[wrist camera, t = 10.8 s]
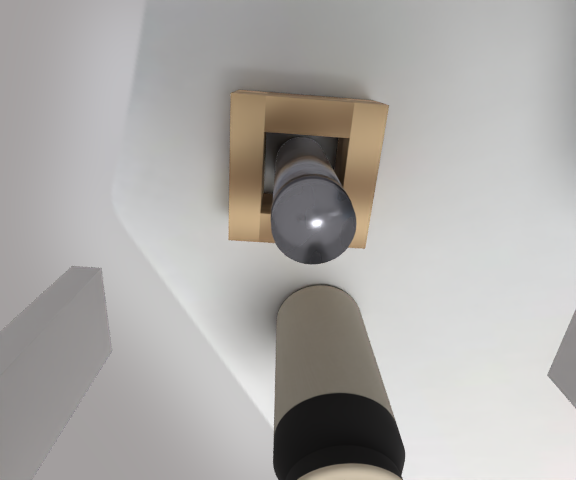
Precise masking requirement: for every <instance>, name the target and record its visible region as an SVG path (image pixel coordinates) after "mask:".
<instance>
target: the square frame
mask: <svg viewBox="0 0 576 480" xmlns="http://www.w3.org/2000/svg"><path fill="white" fill-rule="evenodd" d="M388 108H389V105H386V104H383V103H380V102H376V101H373V100H363V99H350V98H338V97H325V96H312V95H299V94H287V93H274V92H261V91H248V90H237V91H235V92H232V93H231V106H230V173H229V239H228V240H236V241H252V242H268V243H275V241H274V239H273V236H272V231H271V207H272V203H273V194H268V193H263V192H264V173H265V153H266V134H267V132H273V133H286V134H300V135H313V136H327V137H338V145H337V153H336V161H335V170H334V172H335V174H336V176H337V178H338V180H339V181H340V183H341V185H342V187H343V188H344V190H345V191H346V193H347V195H348V196H349V198H350V200H351V203H352V205H353V208H354V211H355V215H356V222H357V224H356V232H355V235H354V238H353V240H352V242H351V244H350V245H349V247H348V248H363V249H365V246H366V240H367V234H368V228H369V222H370V216H371V210H372V204H373V198H374V192H375V186H376V180H377V174H378V168H379V162H380V156H381V150H382V144H383V138H384V132H385V126H386V120H387V114H388Z"/></svg>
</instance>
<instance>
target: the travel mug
mask: <svg viewBox="0 0 576 480" xmlns="http://www.w3.org/2000/svg"><path fill="white" fill-rule="evenodd" d="M273 454H274V455H273V465H274V470H275V473H276V476H277V478H278V480H403V479H402V477H401V475H402V470H403V466H404V462H405V450H404V446H403V443H402V439H401V436H400V433H399V430H398V427H397V424H396V421H395V418H394V415H393V412H392V409H391V405H390V402H389V399H388V396H387V393H386V390H385V387H384V384H383V381H382V378H381V375H380V372H379V368H378V365H377V362H376V359H375V356H374V353H373V350H372V347H371V344H370V341H369V338H368V334H367V331H366V328H365V325H364V322H363V319H362V316H361V313H360V310H359V307H358V305H357V304H356V302H355V301H354V299H353V298H352V297H351V296H350V295H348V294H347V293H346V292H344V291H342V290H340V289H338V288H335V287H331V286H323V285H318V286H310V287H306V288H303V289H301V290H299V291H297V292H295V293H293V294H292V295H291V296H289V297H288V298H287V299H286V300H285V301H284V303H283V304H282V306H281V307H280V309H279V312H278V315H277V327H276V368H275V410H274V451H273Z"/></svg>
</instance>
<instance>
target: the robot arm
mask: <svg viewBox="0 0 576 480" xmlns="http://www.w3.org/2000/svg"><path fill="white" fill-rule="evenodd" d="M111 352H112V346H111V339H110V331H109V323H108V316H107V308H106V300H105V292H104V285H103V277H102V269H101V268H95V267H79V266H72V267H71V268H69V269H68V270H67V271H66V272H65V273H64V274H63V275H62V276H61V277H60V278H58V279H57V280H56V281H55V282H54V283H53V284H52V285H51V286H50V287H49V288H47V289H46V290H45V291H44V292H43V293H42V294H41V295H40V296H39V297H38V298H36V299H35V300H34V301H33V302H32V303H31V304H30V305H29V306H28V307H27V308H25V309H24V310H23V311H22V312H21V313H20V314H19V315H18V316H17V317H15V318H14V319H13V320H12V321H11V322H10V323H9V324H8V325H7V326H6V327H4V328H3V329H2V330H1V331H0V480H32V479H33V478H34V476H35V474H36V473H37V471H38V470H39V468H40V466H41V465H42V463H43V461H44V460H45V458H46V457H47V455H48V453H49V452H50V450H51V449H52V447H53V445H54V444H55V442H56V441H57V439H58V437H59V436H60V434H61V432H62V431H63V429H64V428H65V426H66V425H67V423H68V421H69V420H70V418H71V417H72V415H73V413H74V412H75V410H76V408H77V407H78V405H79V404H80V402H81V400H82V399H83V397H84V396H85V394H86V392H87V391H88V389H89V387H90V386H91V384H92V383H93V381H94V379H95V378H96V376H97V375H98V373H99V371H100V370H101V368H102V367H103V365H104V363H105V362H106V360H107V358H108V357H109V355H110V354H111ZM548 377H549V378H550V379H551V380H552V381H553V382H554V384H555V385H556V386H557V387H558V388H559V389H560V391H561V392H562V393H563V394H564V395H565V396H566V398H567V399H568V400H569V401H570V402H571V403H572V404H573V406H574V407H575V408H576V310H575V312H574V315H573V317H572V319H571V321H570V324H569V326H568V328H567V331H566V333H565V335H564V338H563V340H562V342H561V345H560V347H559V349H558V352H557V354H556V356H555V358H554V361H553V363H552V365H551V368H550V370H549V372H548Z"/></svg>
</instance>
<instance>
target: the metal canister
mask: <svg viewBox="0 0 576 480" xmlns="http://www.w3.org/2000/svg"><path fill="white" fill-rule="evenodd" d="M356 224H357V222H356V215H355V211H354V208H353V205H352V203H351V200H350V198H349V196H348V195H347V193H346V191H345V190H344V188H343V187H342V185H341V183H340V181H339V180H338V178H337V176H336V174H335V172H334V170H333V168H332V166H331V164H330V162H329V160H328V159H327V157H326V155H325V153H324V151H323V149H322V147H321V146H320V145H319V144H318V143H317V142H316V141H314V140H312V139H310V138H307V137H296V138H292V139H290V140H288V141H287V142H285V143H284V144H283V145H282V146H281V148H280V149H279V151H278V153H277V157H276V165H275V178H274V192H273V203H272V207H271V231H272V236H273V239H274V241H275V243H276V245H277V246H278V248H279V249H280V250H281V251H282V252H283V253H284V254H285V255H286V256H288V257H289V258H291V259H293V260H294V261H297V262H300V263H304V264H321V263H325V262H328V261H331V260H333V259H335V258H336V257H338V256H339V255H341V254H342V253H343V252H344V251H345V250H346V249H347V248H348V247H349V245H350V244H351V242H352V240H353V238H354V235H355V232H356Z"/></svg>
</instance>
